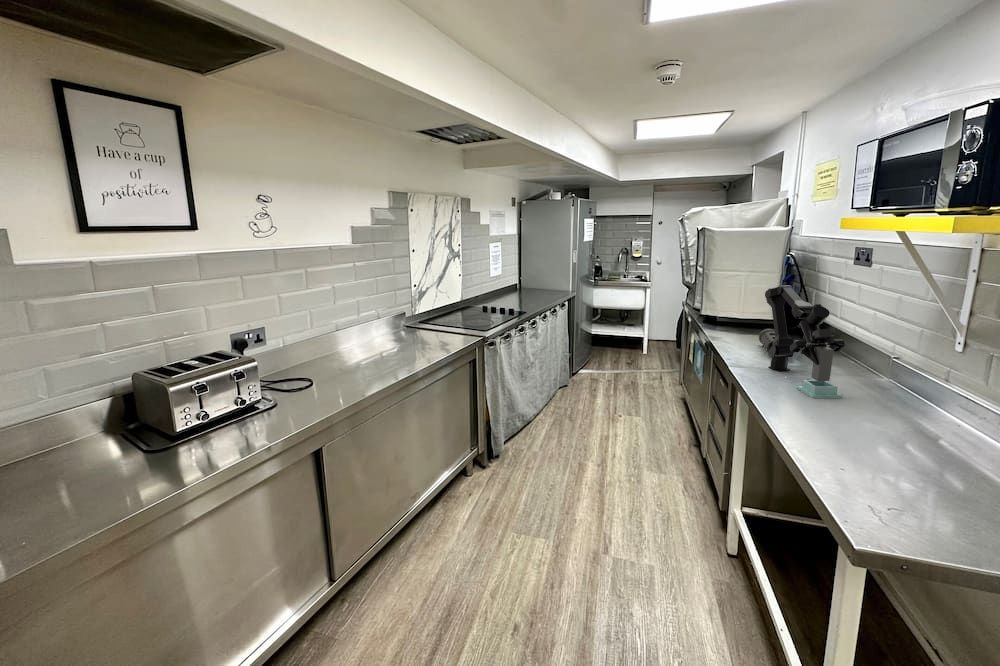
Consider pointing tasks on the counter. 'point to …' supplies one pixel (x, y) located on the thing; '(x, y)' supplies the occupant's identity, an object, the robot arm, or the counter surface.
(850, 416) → the counter surface
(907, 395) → the counter surface
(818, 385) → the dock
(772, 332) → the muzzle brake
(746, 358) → the counter surface
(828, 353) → the plug
